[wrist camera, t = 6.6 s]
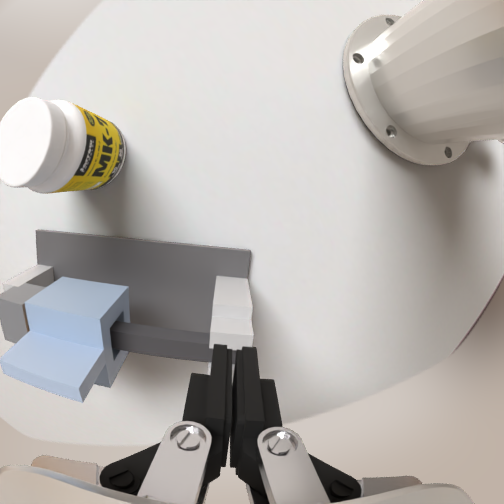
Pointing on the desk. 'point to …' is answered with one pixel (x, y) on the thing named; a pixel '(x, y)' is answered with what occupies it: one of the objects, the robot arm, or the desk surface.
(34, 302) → the light blue step block
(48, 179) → the supplement bottle
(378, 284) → the desk surface
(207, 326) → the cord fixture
